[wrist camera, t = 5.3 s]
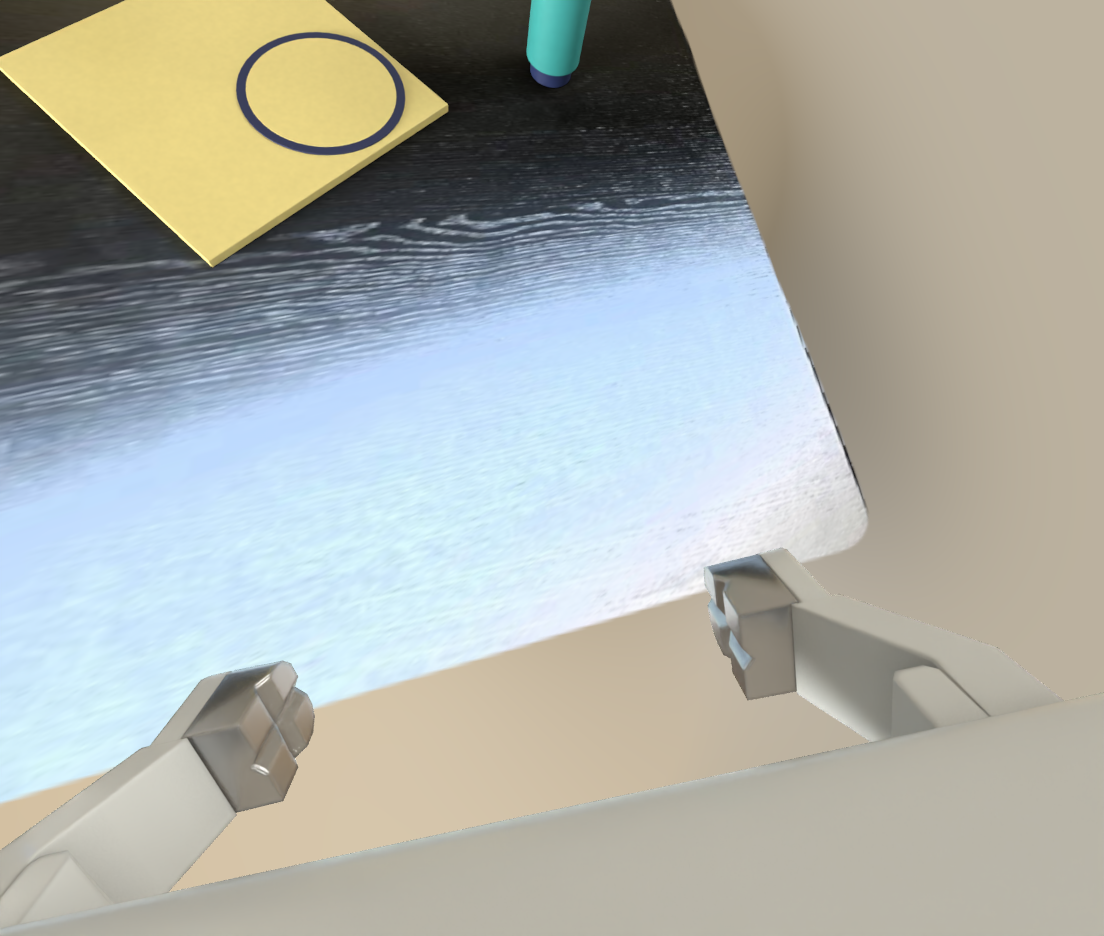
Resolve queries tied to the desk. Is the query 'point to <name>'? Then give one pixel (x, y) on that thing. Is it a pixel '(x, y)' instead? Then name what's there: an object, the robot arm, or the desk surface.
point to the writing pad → (224, 107)
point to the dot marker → (556, 39)
